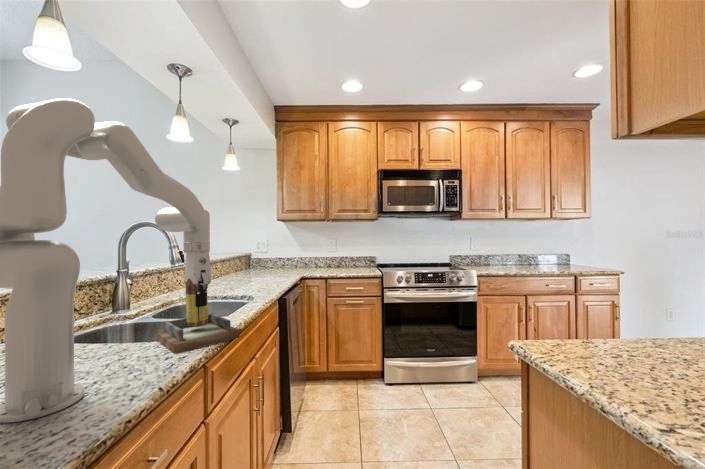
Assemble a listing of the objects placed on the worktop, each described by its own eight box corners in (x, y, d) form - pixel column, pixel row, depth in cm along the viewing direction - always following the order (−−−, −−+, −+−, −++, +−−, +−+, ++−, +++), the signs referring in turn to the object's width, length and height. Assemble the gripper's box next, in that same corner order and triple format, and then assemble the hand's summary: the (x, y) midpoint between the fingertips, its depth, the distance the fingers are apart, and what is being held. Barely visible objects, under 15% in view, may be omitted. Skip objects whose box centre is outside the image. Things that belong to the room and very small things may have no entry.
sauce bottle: (207, 321, 105) (206, 261, 105) (209, 326, 100) (209, 262, 100) (184, 324, 102) (184, 262, 102) (186, 329, 96) (186, 263, 97)
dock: (239, 337, 101) (239, 320, 102) (174, 353, 88) (173, 333, 88) (218, 328, 113) (218, 312, 113) (157, 341, 99) (157, 323, 99)
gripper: (220, 248, 98) (220, 306, 97) (198, 247, 110) (198, 299, 110) (194, 248, 92) (194, 310, 92) (174, 248, 104) (175, 303, 104)
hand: (196, 304), depth 101 cm, fingers closed on sauce bottle, 6 cm apart
